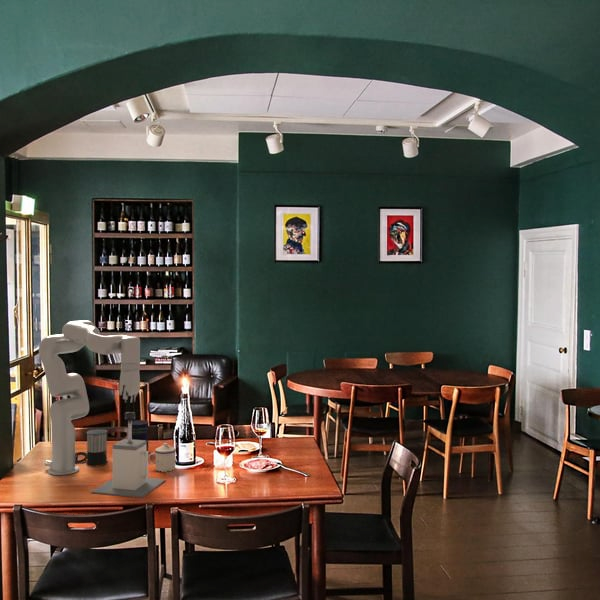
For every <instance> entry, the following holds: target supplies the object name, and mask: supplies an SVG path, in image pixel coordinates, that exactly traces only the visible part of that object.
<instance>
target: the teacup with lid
mask: <svg viewBox="0 0 600 600" xmlns="http://www.w3.org/2000/svg"><path fill="white" fill-rule="evenodd" d="M176 451H177V449H176V447H173V446H171V445H170V444H168V443H167V442H163V444H162V445H161V446H159V447H156V448H155V449H154V452H151V453H150V454H148V462H150V464H153V465H155V471H157V472H160V471H161V472H163V473H167V471H169V472H172V470H173V471H174V470H175V469H176ZM152 455H154V456H155V461H153V460H152V459H151V456H152Z"/></svg>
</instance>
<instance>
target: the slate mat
mask: <svg viewBox="0 0 600 600" xmlns="http://www.w3.org/2000/svg"><path fill="white" fill-rule="evenodd" d="M164 482H166V478H156V477H155V478H154V477H148V478H147V479H146V483H145V484H143V485H142V486H141V487H139V488H138V489H136V490H128V489H117V488H112V478H111V479H109V480H107V481H106V482H103V484H101V485H99V486H98V487H96V488H95V489H93V490H91V491H90V494H98V495H106V494H107V495H109V496H118V497H119V496H120V497H129V498H139V499H140V498H142V499H143V498H145V497H146V496H147V495H148V494H150V493H151V492H152V491H154V490H155V489H156V488H157V487H159V486H161V484H163V483H164Z"/></svg>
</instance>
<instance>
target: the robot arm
mask: <svg viewBox="0 0 600 600" xmlns="http://www.w3.org/2000/svg"><path fill="white" fill-rule="evenodd" d="M61 331H62V333H61V334H51V335H48V336H45V337H44V338H43V339H41V341H40V343H39V346H38V354H39V358H40V360H41V363H42V366H43V370H44V373H45V374H44V375H45V377H46V383H47V387H48V388H47V389H48V392H49V394H50V395H51V396H52V397H54V398H59V397H61V398H62V397H66V396H69V397H67V398H63V399H59V400H55V401H54V402H53V403H51V405H50V406H49V417H50V421H51V437H52V439H51V442H52V443H51V444H52V445H51V460H49V459H46V460H45V462H44V466H45V467H49V468H48V470H47V472H48V474H49V475H52V476H65V475H66V476H68V475H72V474H75V473H77V472H79V469H80V468H79V466H78V465H76V463H75V453H76V429H75V425H74V424H73V423H72V420H77V419H80V418H83V417H85V416H87V415H88V414H89V412H90V402H89V398H88V393H87V388H86V384H85V380H84V378H83V377H82V376H81V375H80V374H78V373H75V372H71V373H67V369H66V366H65V365H66V364H65V362H64V361H63V359H62V358H61V357H60V356H58V355H60V354H69V353H74V352H75V353H76V352H79V351H80V350H81V349H82V348H83V347H84V346H86V348H87V349H88V350H89V351H91V352H93V353H95V354H100V355H107V356H108V355H113V354H115V355H116V354H120V376H119V386H118V387H119V388H118V395H119V396H120V397H121V396H122V399H123V400H124V402H125V413H126V412H135V411H136V398H137V396H138V394H139V393H140V390H141V379H140V378H141V377H140V376H141V375H140V371H141V339H140V337H138V336H133V335H130V336H129V335H126V334H114V335H101V332H100V330H99V328H98V327H96V325H95V323H93V322H92V321H90V320H85V319H83V320H72V321H67V323H65V324H64V325H63V327H62V330H61Z"/></svg>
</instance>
